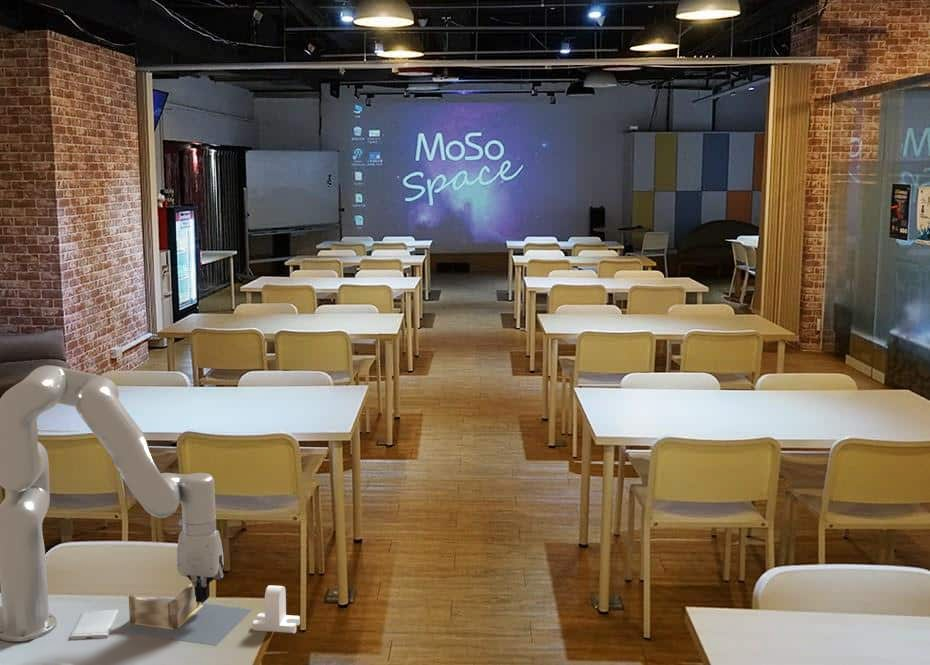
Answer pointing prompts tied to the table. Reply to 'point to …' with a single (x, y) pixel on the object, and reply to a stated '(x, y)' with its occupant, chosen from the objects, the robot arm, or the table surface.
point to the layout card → (194, 624)
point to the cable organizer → (276, 613)
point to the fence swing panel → (183, 605)
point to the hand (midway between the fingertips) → (202, 600)
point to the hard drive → (95, 624)
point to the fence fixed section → (149, 611)
